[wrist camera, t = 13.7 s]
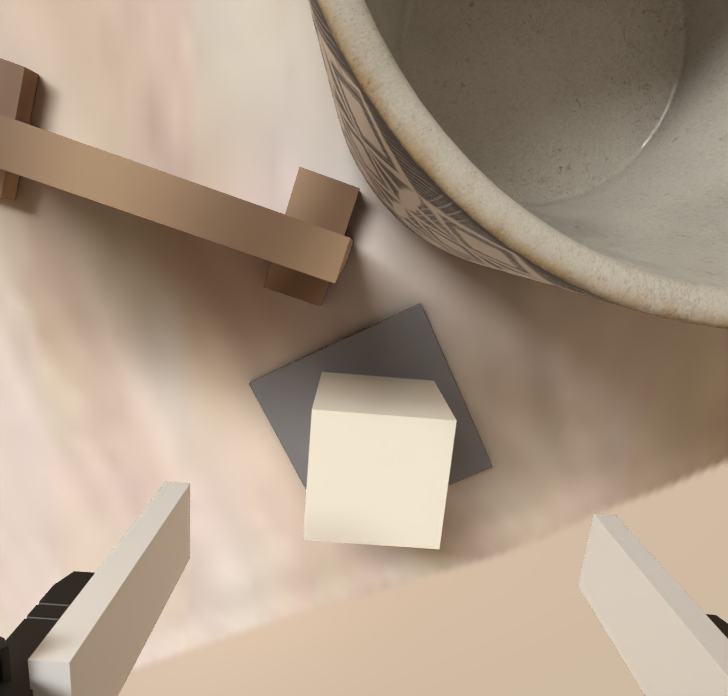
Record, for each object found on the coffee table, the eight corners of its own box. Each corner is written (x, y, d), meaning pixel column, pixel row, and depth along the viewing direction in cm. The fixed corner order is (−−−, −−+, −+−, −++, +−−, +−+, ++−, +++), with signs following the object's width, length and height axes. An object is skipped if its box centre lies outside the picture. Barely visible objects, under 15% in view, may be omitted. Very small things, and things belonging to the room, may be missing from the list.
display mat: (250, 381, 26) (248, 383, 26) (419, 303, 26) (420, 304, 25) (331, 531, 28) (330, 535, 28) (490, 463, 28) (492, 466, 27)
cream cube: (321, 371, 26) (311, 409, 20) (433, 380, 26) (456, 420, 20) (314, 479, 27) (302, 545, 21) (421, 487, 27) (438, 554, 21)
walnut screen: (-57, 175, 24) (-527, 98, 11) (-37, 47, 23) (-537, -202, 10) (331, 307, 26) (306, 370, 13) (368, 194, 24) (382, 140, 12)
